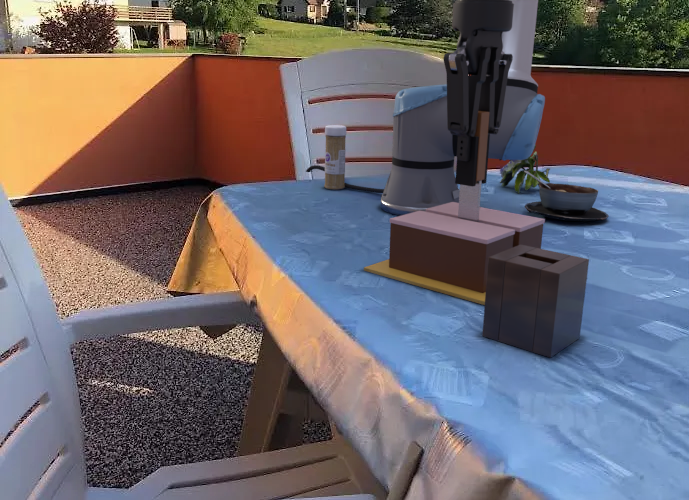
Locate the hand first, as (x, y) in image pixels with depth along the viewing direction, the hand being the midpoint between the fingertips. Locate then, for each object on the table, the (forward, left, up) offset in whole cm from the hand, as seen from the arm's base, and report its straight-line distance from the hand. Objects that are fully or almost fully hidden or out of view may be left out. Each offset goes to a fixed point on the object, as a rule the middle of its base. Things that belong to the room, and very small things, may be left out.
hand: (470, 183), depth 96 cm
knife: (0, 0, -11) cm, 11 cm away
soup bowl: (-5, +42, -13) cm, 44 cm away
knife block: (+18, -15, -12) cm, 27 cm away
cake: (0, 0, -12) cm, 12 cm away
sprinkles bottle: (-52, +30, -13) cm, 61 cm away
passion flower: (-23, +60, -13) cm, 66 cm away
